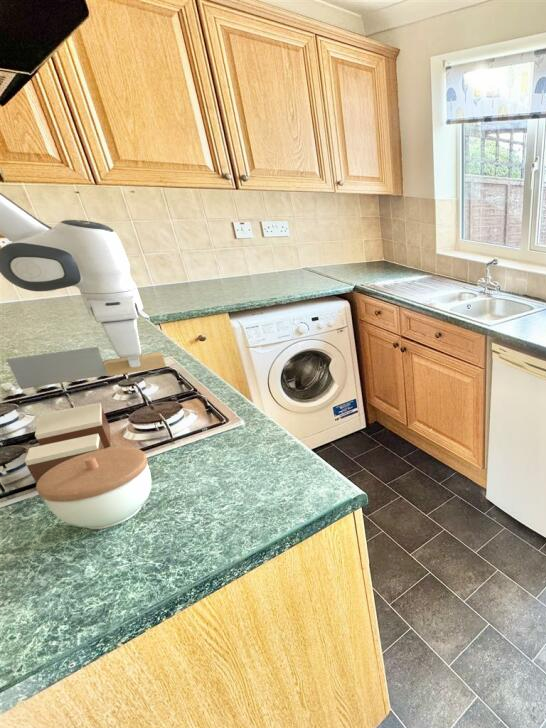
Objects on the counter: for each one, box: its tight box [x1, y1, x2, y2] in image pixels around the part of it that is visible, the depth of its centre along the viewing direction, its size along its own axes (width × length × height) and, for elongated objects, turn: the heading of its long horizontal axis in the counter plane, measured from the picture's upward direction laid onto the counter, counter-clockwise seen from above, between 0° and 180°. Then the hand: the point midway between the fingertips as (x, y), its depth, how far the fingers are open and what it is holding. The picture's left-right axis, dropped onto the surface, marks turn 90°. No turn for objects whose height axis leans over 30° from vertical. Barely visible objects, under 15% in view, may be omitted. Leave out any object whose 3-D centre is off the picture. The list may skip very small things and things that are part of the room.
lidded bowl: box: [35, 446, 153, 530], centre depth 67 cm, size 13×13×11 cm
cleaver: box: [6, 346, 167, 390], centre depth 89 cm, size 23×2×6 cm, turn 131°
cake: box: [34, 402, 111, 449], centre depth 85 cm, size 9×10×6 cm
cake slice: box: [24, 434, 105, 485], centre depth 76 cm, size 9×5×6 cm, turn 129°
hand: (135, 363), depth 94 cm, fingers closed on cleaver, 2 cm apart
